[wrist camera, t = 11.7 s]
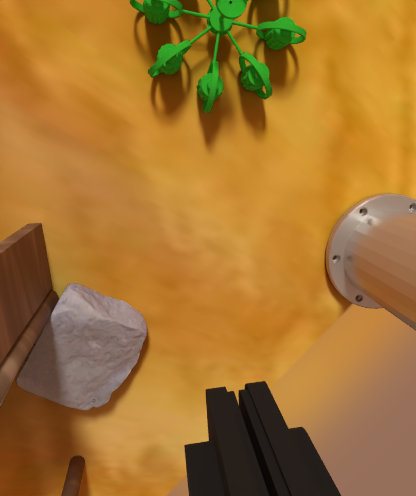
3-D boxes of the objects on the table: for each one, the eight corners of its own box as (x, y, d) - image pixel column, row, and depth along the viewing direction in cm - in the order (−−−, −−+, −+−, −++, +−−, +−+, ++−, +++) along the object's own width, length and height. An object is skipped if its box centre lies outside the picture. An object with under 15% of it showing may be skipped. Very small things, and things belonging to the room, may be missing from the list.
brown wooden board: (45, 222, 37) (-28, 279, 22) (87, 466, 44) (54, 636, 29) (23, 224, 37) (-67, 283, 21) (69, 468, 44) (26, 641, 29)
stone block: (152, 305, 43) (63, 273, 38) (161, 330, 39) (61, 296, 34) (104, 390, 45) (14, 368, 41) (106, 422, 41) (7, 401, 36)
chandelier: (94, -1, 33) (80, -36, 26) (237, -114, 32) (259, -179, 26) (198, 147, 37) (208, 149, 31) (326, 51, 37) (364, 31, 30)
